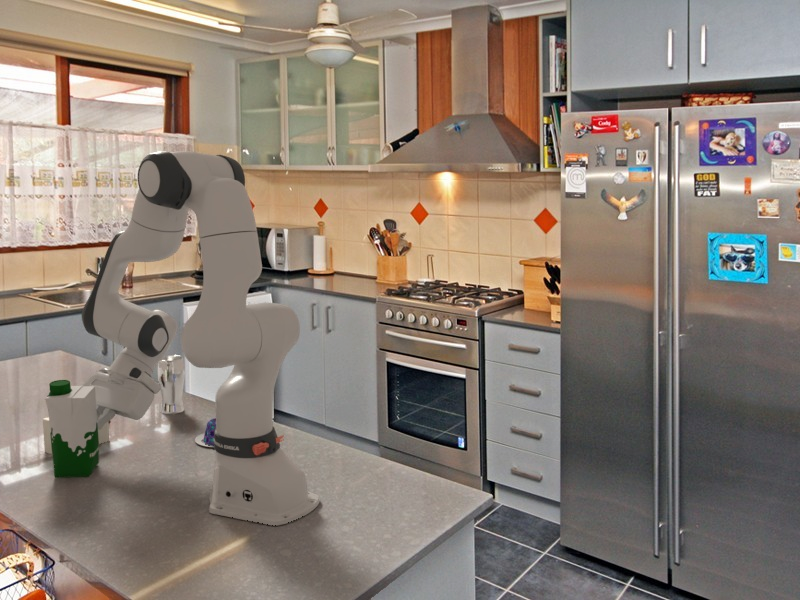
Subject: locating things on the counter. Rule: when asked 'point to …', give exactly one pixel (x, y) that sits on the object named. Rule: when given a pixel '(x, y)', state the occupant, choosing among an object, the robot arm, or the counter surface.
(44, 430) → the block
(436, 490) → the counter surface
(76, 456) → the soya milk
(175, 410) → the beer glass
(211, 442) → the pudding
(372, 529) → the counter surface
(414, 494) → the counter surface
